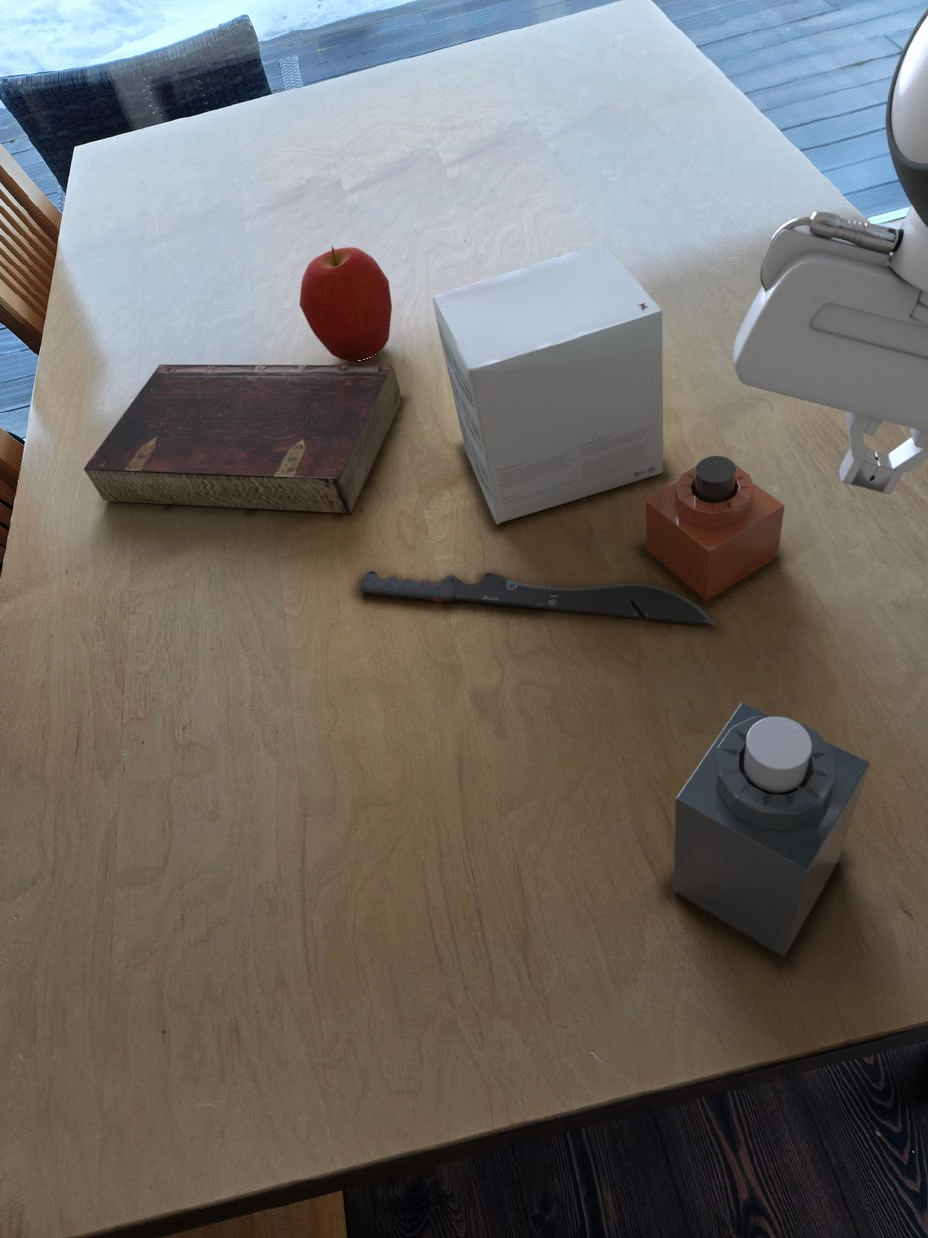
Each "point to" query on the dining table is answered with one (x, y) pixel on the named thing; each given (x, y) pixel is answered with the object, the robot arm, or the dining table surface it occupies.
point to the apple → (347, 303)
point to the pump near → (777, 754)
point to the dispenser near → (762, 835)
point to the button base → (713, 533)
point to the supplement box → (555, 380)
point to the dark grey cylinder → (715, 479)
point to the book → (249, 436)
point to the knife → (548, 597)
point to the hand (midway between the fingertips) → (863, 483)
